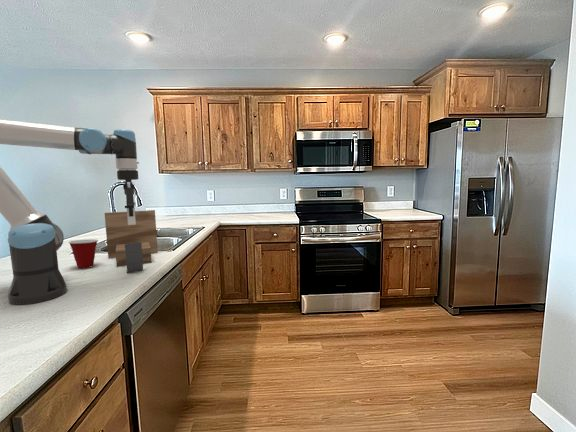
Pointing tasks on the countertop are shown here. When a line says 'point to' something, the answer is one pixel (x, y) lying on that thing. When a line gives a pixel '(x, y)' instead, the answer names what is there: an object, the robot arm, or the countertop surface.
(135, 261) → the dark grey rectangular post
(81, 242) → the plastic cup
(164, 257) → the countertop surface
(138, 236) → the wooden panel stand
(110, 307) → the countertop surface
